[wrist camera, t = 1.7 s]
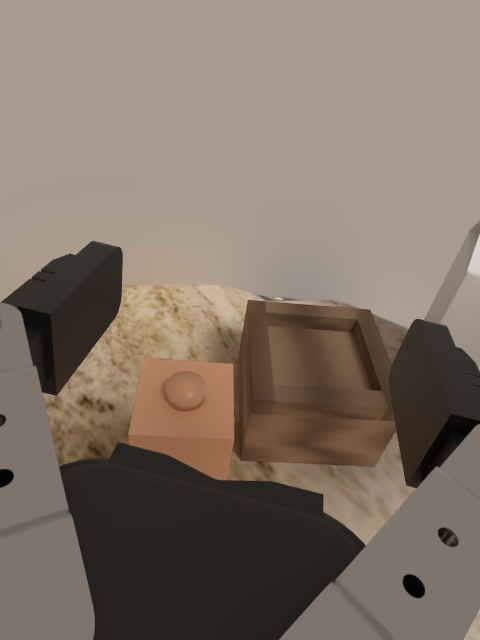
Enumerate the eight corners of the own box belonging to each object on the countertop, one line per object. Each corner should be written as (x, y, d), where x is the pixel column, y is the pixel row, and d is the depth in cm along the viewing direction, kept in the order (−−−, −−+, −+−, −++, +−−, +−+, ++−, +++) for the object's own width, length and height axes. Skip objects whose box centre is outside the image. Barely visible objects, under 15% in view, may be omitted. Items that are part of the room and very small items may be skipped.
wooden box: (347, 367, 44) (370, 309, 40) (374, 466, 36) (408, 408, 31) (238, 360, 43) (247, 299, 39) (240, 460, 35) (253, 399, 30)
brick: (214, 482, 33) (234, 353, 25) (213, 552, 30) (236, 429, 21) (147, 480, 33) (143, 347, 24) (137, 550, 29) (127, 424, 20)
